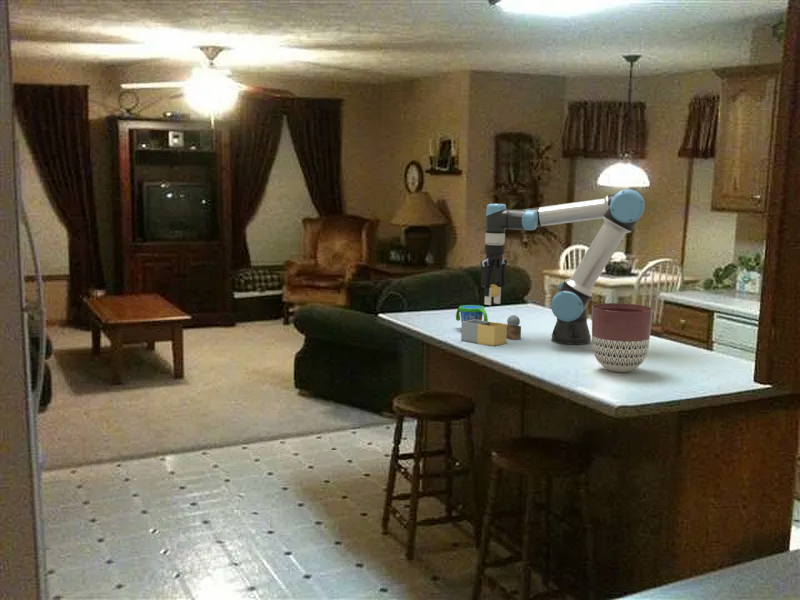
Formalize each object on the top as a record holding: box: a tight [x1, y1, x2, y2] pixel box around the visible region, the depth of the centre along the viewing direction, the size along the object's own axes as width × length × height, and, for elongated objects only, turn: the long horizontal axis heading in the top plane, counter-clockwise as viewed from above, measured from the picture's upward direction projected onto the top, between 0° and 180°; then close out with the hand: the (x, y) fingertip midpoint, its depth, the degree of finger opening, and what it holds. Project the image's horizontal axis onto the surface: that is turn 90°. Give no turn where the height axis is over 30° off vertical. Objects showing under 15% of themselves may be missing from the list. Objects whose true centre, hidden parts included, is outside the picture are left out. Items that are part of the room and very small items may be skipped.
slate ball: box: [506, 314, 521, 327], centre depth 330 cm, size 5×5×5 cm
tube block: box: [460, 319, 508, 347], centre depth 322 cm, size 16×8×8 cm, turn 47°
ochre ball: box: [490, 283, 499, 298], centre depth 321 cm, size 5×5×5 cm
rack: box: [500, 322, 522, 341], centre depth 333 cm, size 12×4×5 cm, turn 47°
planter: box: [591, 302, 654, 373], centre depth 274 cm, size 20×20×21 cm
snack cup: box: [455, 304, 489, 323], centre depth 347 cm, size 16×10×10 cm
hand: (492, 303), depth 321 cm, fingers closed on ochre ball, 5 cm apart
